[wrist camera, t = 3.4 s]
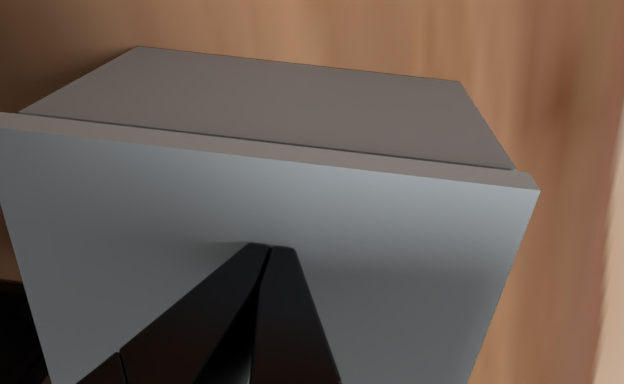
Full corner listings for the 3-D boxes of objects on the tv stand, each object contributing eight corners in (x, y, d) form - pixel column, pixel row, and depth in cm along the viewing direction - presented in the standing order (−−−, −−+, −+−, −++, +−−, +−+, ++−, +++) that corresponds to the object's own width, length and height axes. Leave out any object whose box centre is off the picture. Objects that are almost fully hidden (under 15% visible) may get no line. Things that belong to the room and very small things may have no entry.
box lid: (82, 429, 13) (70, 451, 13) (1, 111, 9) (-22, 125, 8) (420, 474, 13) (423, 498, 12) (529, 172, 8) (540, 190, 8)
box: (157, 293, 18) (85, 427, 13) (137, 46, 14) (18, 111, 9) (401, 324, 18) (417, 472, 13) (459, 82, 13) (516, 169, 9)
